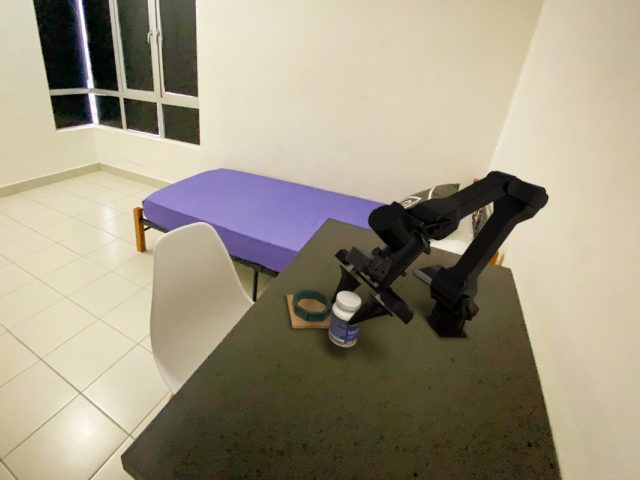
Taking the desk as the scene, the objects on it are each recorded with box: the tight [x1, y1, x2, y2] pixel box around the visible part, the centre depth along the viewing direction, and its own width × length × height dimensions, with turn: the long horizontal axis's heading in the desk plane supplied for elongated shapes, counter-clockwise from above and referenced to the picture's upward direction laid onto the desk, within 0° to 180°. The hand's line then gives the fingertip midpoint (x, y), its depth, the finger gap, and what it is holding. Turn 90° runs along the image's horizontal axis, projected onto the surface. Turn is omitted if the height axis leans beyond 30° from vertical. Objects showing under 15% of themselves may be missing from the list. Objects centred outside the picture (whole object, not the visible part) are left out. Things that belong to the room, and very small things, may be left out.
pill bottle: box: [328, 291, 362, 348], centre depth 67 cm, size 6×6×10 cm
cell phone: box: [414, 264, 444, 285], centre depth 100 cm, size 6×11×1 cm, turn 113°
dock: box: [285, 288, 333, 329], centre depth 83 cm, size 11×11×4 cm
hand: (340, 313), depth 66 cm, fingers closed on pill bottle, 6 cm apart
